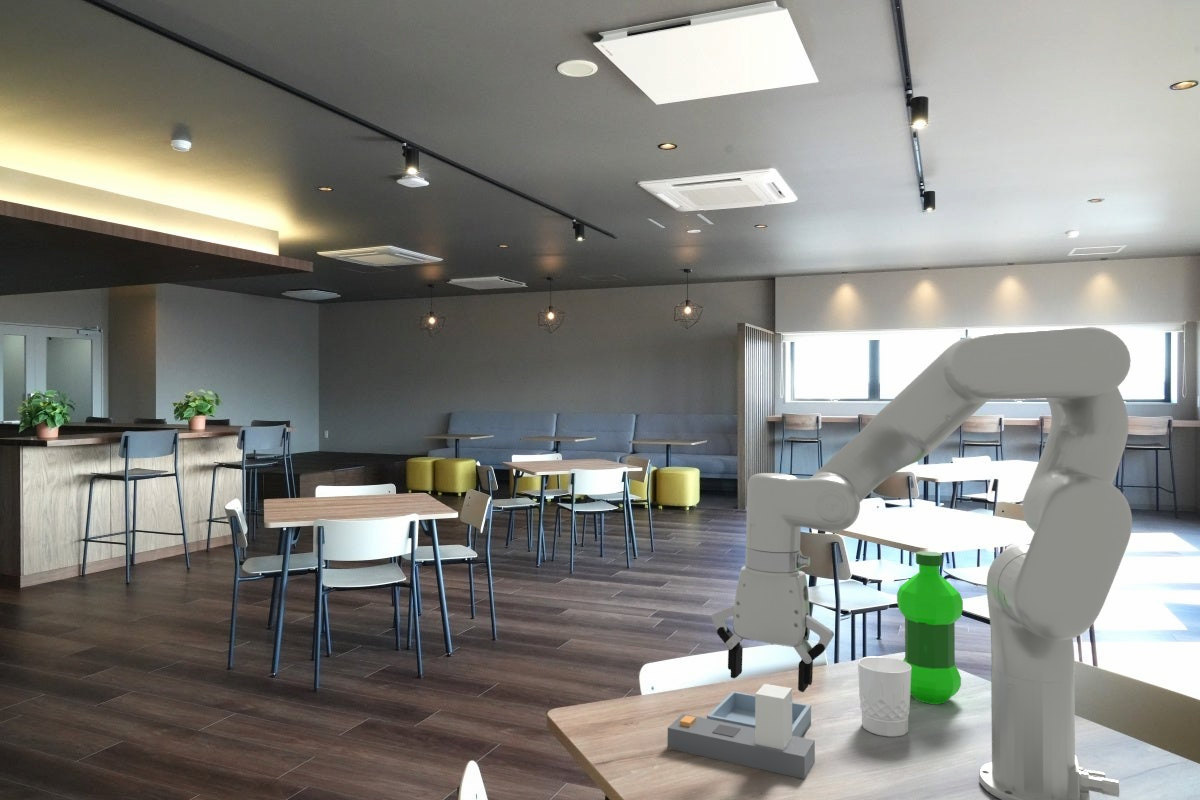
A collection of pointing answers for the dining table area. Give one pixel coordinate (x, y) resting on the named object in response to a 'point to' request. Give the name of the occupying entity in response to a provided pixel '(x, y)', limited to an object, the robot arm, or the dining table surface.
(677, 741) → the strip
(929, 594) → the plastic bottle
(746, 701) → the tray
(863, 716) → the white cup
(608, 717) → the dining table surface
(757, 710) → the block
